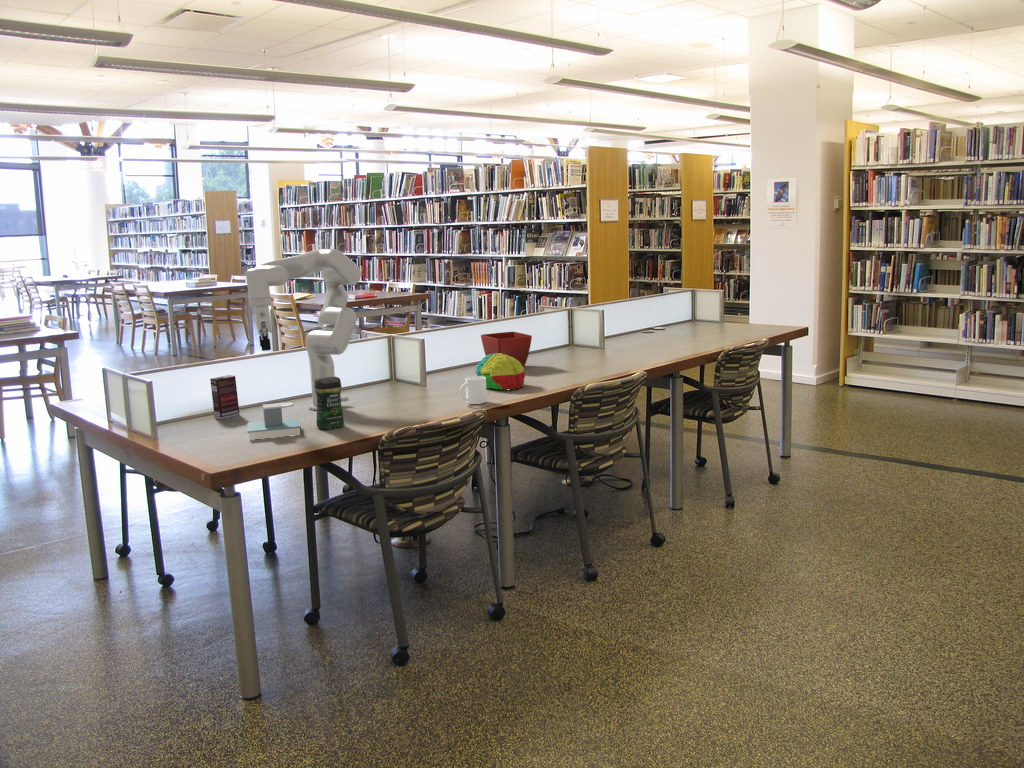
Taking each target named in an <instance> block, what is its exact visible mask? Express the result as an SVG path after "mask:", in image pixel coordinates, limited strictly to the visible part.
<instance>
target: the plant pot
mask: <svg viewBox="0 0 1024 768" xmlns="http://www.w3.org/2000/svg"><path fill="white" fill-rule="evenodd" d="M532 336H533V335H531V334H526V333H523V332H522V333H521V332H517V331H506V332H505V331H504V332H503V331H502V332H495V333H494V332H493V333H484V334H480V339H481V345H482V347H483V351H484V355H485V357H486V356H487V355H490V354H496V353H502V354H503V355H508V356H509V357H513V358H514V359H516V360H518V361H519V362H520V363H521V365H522V366H523V368H525V366H526V363H527V360H528V358H529V354H530V349H531V345H532V338H533V337H532Z"/></svg>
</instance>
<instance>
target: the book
mask: <svg viewBox="0 0 1024 768" xmlns="http://www.w3.org/2000/svg"><path fill="white" fill-rule="evenodd" d="M282 421H283V426H275V427H265V424H264V421H256V422H247V424H246V426H247V430H246V431H247V433H248V438H249V441H250V440H252V441H256V440H255V439H262V440H265V439H264V438H271V439H273V438H272V437H281V436H289V435H297V434H300V435H301V429H300V428H302V426H301V423H300V420H299V417H296V418H287V419H282ZM281 438H282V437H281Z"/></svg>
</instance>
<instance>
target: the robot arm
mask: <svg viewBox="0 0 1024 768" xmlns="http://www.w3.org/2000/svg"><path fill="white" fill-rule="evenodd" d="M320 272H322V278H323V281H324V284H325V286H326V287H325V288H326V297H325V300H324V301H323V305H322V307H321V310H320V312H319V316H318V318H317V319H318V320H317V323H318V326H319V327H320V328H321V329H315V330H314V329H313V330H312V331H310V332H308V333H307V335H306V337H305V344H304V345H305V348H306V352H307V354H308V355H307V357H308V361H309V371H310V383H311V398H312V403H311V404H309V405H308V407H309V409H310V410H311V409H312V411H317V395H316V392H315V390H314V385H315V379H319V378H326V377H336V373H335V362H334V360H333V357H332V356H333V355H335V356H337V355H342V354H344V353H345V351H346V350H347V348H348V346H349V343H350V341H351V338H352V336H353V333H354V331H355V328H356V325H357V314H356V312H355V311H354V310H353V309H352V308H351V307H349V306H348V307H347V303H348V294H347V291H346V288H345V287H344V285H346V286H348V285H350V286H351V285H357V283H359V282H360V281H361V276H362V272H361V269H360V267H359V266H358V264H356V263H355V261H353V260H352V259H351V258H349V257H348V256H347V255H346V254H344V253H343V252H342V251H340V250H338V249H336V248H318V249H317V248H316V249H314V250H310V251H307V252H304V253H302V254H297V255H294V256H289V257H285V258H282V259H277V260H272V261H269V262H265V263H261V264H258V265H257V266H255V267H253V268H249V269H247V270H246V273H245V276H246V285H247V292H248V301H249V308H251V309H253V315H254V321H255V325H256V329H257V333H258V334H259V346H260V347H261V351H263V352H267V351H271V350H272V348H271V347H272V346H271V338H270V335H269V333H270V334H272V333H273V329H272V320H271V313H270V307H271V306H272V299H271V293H270V287H280V286H283V285H286V284H287V282H288V281H289V279H292V280H293V279H302V278H305V277H308V276H311V275H314V274H316V273H320ZM340 399H341V403H343V402H349V396H345V395H344V396H340Z"/></svg>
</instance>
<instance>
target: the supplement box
mask: <svg viewBox="0 0 1024 768" xmlns="http://www.w3.org/2000/svg"><path fill="white" fill-rule="evenodd" d="M209 381H210V389H211V397H212V405H213V406H212V407H213V415H214V416H213V417H214V419H217V420H224V419H229V418H233V417H237V416H240V407H239V398H238V387H237V380H236V375H232V374H231V375H230V374H229V375H223V376H219V377H218V376H217V377H212V378H209Z"/></svg>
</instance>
